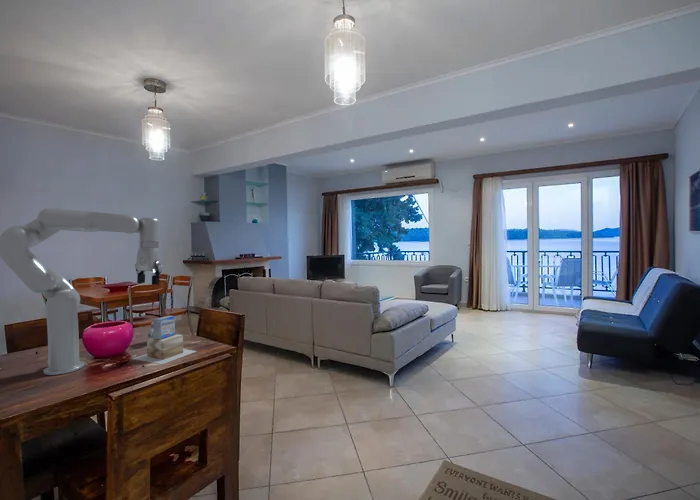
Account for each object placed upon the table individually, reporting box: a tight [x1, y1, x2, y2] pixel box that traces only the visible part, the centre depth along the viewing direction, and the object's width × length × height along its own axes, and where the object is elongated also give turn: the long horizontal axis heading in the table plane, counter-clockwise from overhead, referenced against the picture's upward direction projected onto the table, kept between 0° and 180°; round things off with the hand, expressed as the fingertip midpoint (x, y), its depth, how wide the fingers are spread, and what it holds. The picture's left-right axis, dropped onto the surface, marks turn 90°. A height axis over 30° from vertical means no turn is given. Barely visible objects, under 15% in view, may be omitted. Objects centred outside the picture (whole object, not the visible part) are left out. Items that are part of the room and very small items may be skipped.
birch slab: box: [146, 333, 184, 350], centre depth 153 cm, size 10×10×4 cm
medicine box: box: [152, 315, 176, 339], centre depth 152 cm, size 8×4×9 cm, turn 163°
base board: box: [132, 348, 197, 365], centre depth 153 cm, size 18×18×1 cm
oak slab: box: [146, 343, 184, 360], centre depth 153 cm, size 10×10×4 cm
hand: (148, 283), depth 154 cm, fingers open, 9 cm apart
